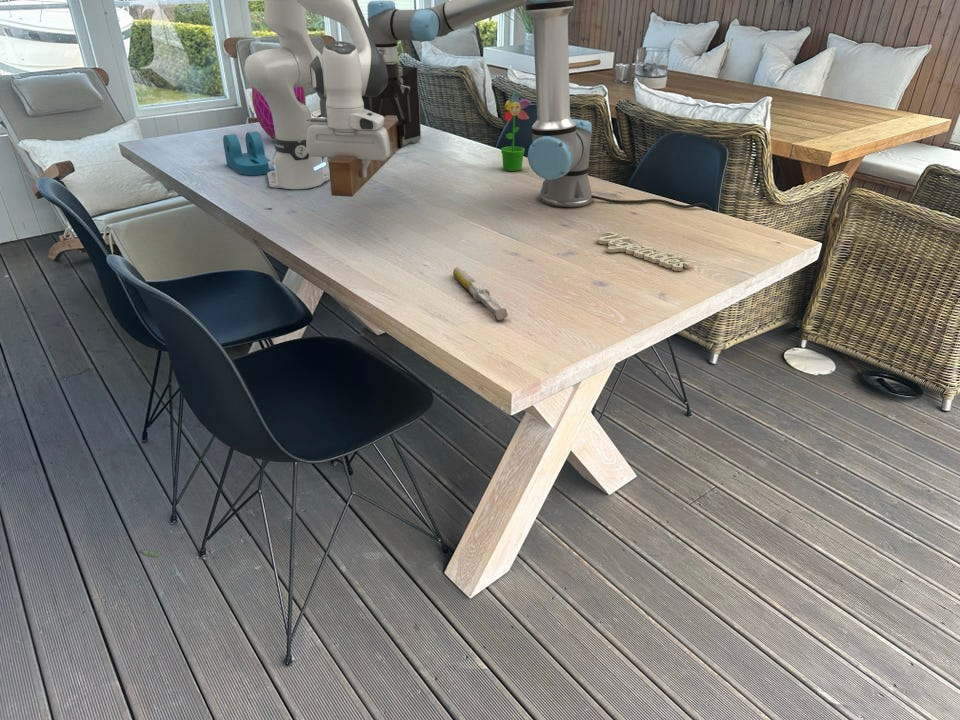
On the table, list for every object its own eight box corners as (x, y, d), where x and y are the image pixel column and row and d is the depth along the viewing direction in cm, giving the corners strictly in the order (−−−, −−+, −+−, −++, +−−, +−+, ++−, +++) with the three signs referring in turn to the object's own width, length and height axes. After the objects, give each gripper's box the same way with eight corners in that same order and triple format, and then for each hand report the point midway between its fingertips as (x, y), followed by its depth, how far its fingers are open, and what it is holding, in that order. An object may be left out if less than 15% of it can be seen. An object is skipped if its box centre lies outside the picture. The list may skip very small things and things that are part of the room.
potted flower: (506, 173, 227) (508, 93, 214) (495, 167, 233) (496, 89, 220) (530, 170, 231) (534, 91, 218) (519, 164, 237) (522, 87, 224)
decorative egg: (293, 132, 276) (283, 50, 261) (319, 140, 264) (310, 56, 249) (249, 139, 265) (236, 54, 250) (273, 148, 253) (261, 60, 238)
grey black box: (383, 133, 276) (378, 52, 261) (425, 141, 265) (422, 56, 250) (314, 150, 251) (304, 61, 235) (358, 160, 240) (350, 67, 224)
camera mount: (227, 164, 233) (221, 132, 227) (257, 160, 238) (252, 129, 233) (244, 176, 220) (239, 143, 215) (276, 172, 225) (271, 139, 220)
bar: (388, 143, 210) (386, 115, 206) (404, 143, 210) (403, 116, 206) (331, 195, 165) (328, 161, 161) (352, 197, 165) (349, 162, 160)
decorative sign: (584, 239, 172) (609, 230, 178) (583, 243, 172) (609, 234, 178) (672, 271, 155) (697, 260, 161) (671, 275, 156) (696, 264, 161)
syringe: (449, 274, 155) (449, 263, 153) (465, 272, 156) (464, 260, 154) (490, 323, 135) (491, 310, 133) (508, 319, 136) (508, 307, 134)
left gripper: (298, 118, 161) (305, 177, 168) (384, 123, 159) (386, 182, 166) (308, 113, 166) (314, 170, 173) (390, 117, 164) (393, 175, 171)
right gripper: (349, 64, 190) (357, 149, 202) (414, 65, 188) (418, 151, 199) (356, 60, 196) (364, 143, 208) (419, 61, 194) (423, 145, 206)
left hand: (350, 176), depth 170 cm, fingers closed on bar, 5 cm apart
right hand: (390, 147), depth 204 cm, fingers closed on bar, 5 cm apart
